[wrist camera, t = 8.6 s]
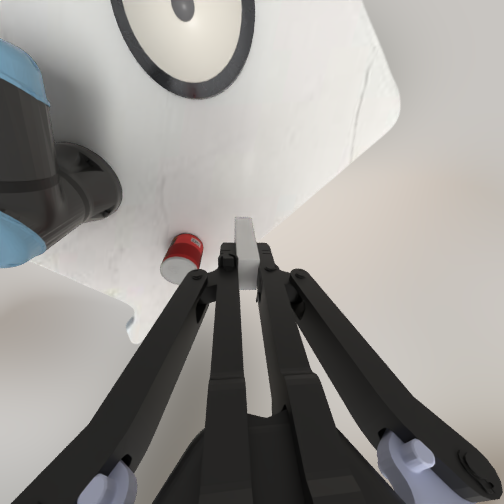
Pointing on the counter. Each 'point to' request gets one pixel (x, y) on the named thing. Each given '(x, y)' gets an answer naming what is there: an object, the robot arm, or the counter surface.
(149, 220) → the counter surface
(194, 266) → the canned food
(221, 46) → the dial
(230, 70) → the dial base
